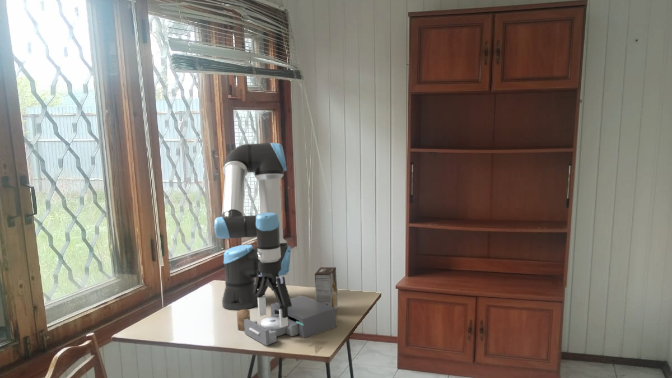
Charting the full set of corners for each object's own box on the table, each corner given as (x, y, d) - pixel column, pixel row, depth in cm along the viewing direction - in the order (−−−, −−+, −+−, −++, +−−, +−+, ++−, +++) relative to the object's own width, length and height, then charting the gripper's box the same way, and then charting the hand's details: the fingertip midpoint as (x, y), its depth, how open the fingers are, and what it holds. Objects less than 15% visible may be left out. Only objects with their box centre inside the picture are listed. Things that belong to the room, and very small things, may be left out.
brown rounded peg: (235, 328, 174) (234, 311, 173) (246, 324, 176) (245, 308, 176) (241, 331, 170) (240, 314, 170) (252, 328, 173) (251, 311, 172)
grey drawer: (243, 333, 168) (242, 319, 167) (277, 322, 176) (276, 309, 176) (265, 346, 157) (264, 331, 156) (300, 334, 165) (299, 320, 165)
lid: (276, 319, 172) (276, 314, 172) (289, 325, 166) (289, 320, 166) (256, 325, 167) (256, 320, 167) (269, 332, 161) (268, 327, 161)
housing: (271, 322, 178) (270, 304, 177) (303, 312, 187) (302, 295, 186) (303, 338, 162) (302, 319, 162) (336, 326, 171) (336, 308, 171)
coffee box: (321, 307, 192) (320, 266, 190) (338, 307, 190) (336, 267, 189) (316, 315, 183) (314, 273, 181) (333, 316, 181) (331, 273, 180)
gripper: (241, 255, 171) (245, 313, 174) (280, 269, 152) (284, 334, 155) (259, 251, 176) (263, 308, 179) (300, 264, 157) (303, 328, 160)
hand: (272, 320), depth 167 cm, fingers open, 13 cm apart
